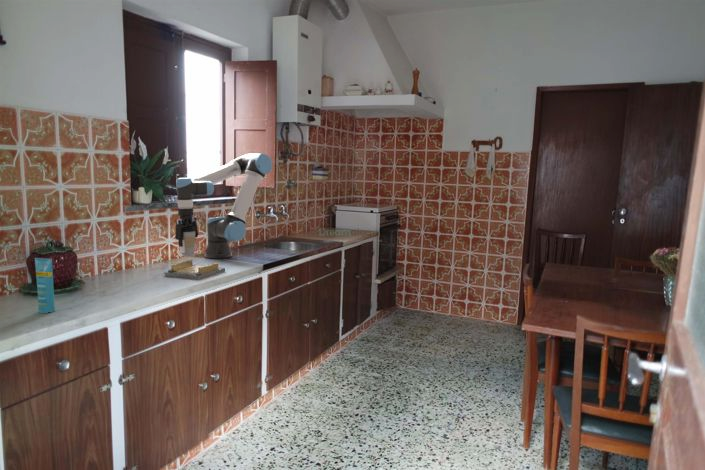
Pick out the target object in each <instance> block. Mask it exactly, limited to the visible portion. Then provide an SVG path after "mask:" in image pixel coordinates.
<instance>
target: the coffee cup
mask: <svg viewBox="0 0 705 470" xmlns="http://www.w3.org/2000/svg"><path fill="white" fill-rule="evenodd" d="M195 231H196V229H195V227H194V226H192V227H186V228H181V232H183V233H184V238H183V240H184V243H185V253H181V254H182V255H181V256H182V257H192V256H195V250H194V247H195V244H196V243H195Z"/></svg>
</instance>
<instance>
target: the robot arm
mask: <svg viewBox="0 0 705 470" xmlns="http://www.w3.org/2000/svg"><path fill="white" fill-rule="evenodd" d="M272 170H273V161H272V159H271V157H270V155H268V154H266V153H261V152H259V153H246V154H244V155H241V156H239V157H237V158H235V159H232V160H231V161H229V162H228V163H227V164H224V165H222V166H219V167H218V168H217V167H216V168H215V169H213V170H211V171H207V172H206V173H203V174H201V175H198V176H195V177H194V178H191V177H178V178H177V179H176V194H177V195H176V196H177V198H176V199H177V208H178V209H177V215H178V217H179V219H176V220H175V238H174V239H175V240H177V241H178V248H179V253H181V254H182V253H185V243H184V240H183V238H184V233H183V232H181V228H186V227H192V226H194V227H195V229H196V231H195V247H194V251H196V250H197V246H196V245H197V244H196V243H197V241H196V240H197V239H196V238H198V236H199V231H198V223H197V217H193V215H194V208H193V207H194V199H193V198H194V197H195V196H199V197H200V196H210V195H213V193H214V191H215V187H214V185H216V184H218V183H220V182H223V181H225V180H228V179H230V178H232V177H234V176H237V177H238V176H240V175H245V177H244V178H243V179H244V180H243V181H242V184H241V186H240V189H239V191H238V193H237V196H236V198H235V201H234V203H233V205H232V206H231V207H232V208H231V211H230V212H229V213H227V214H226V215H225V216H214V217H209V218H207V221H206V226H207V227H206V228H207V245H206V249H205V252H204V258H208V259H226V258H231V257H232V255H233V254H232V253H233V252H232V249H231V246H230V243H231V242H234V243H235V242H240V241H241V240H243V239H244V238H245V237H246V233H247V228H246V227H247V226H246V224H247V221H246V220H247V219H246V216H247V214H248V211H249V209H250V206H251V204H252V202H253V199H254V196H255V194H256V191H257V189H258V187H259V184H260V182H262V181H263V180H264V179H265V177H266V175H267V174H270V173H271V171H272ZM229 242H230V243H229Z"/></svg>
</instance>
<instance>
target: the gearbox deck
mask: <svg viewBox="0 0 705 470" xmlns="http://www.w3.org/2000/svg"><path fill="white" fill-rule="evenodd" d="M219 265H220V264H219V262H214V263H211V264H206V265H199V264H198V265H197V264H194V262H193V260H192V259H190V260H186V261H182V262H178V263H175V264H174V263H173V264H171V266H170V267H171V268H170V269H168V270H167V271H164V272H163V276H164V277H168V278H175V279H176V278H177V279H186V280H188V279H189V280H195V281H201V280H204V279H207V278H211V277H213V276H217V275H220V274H222V273H226V268H225V267H220V266H219Z"/></svg>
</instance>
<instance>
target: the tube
mask: <svg viewBox="0 0 705 470" xmlns="http://www.w3.org/2000/svg"><path fill="white" fill-rule="evenodd" d="M34 265H35V266H34V267H35V278H36V289H37V290H36V292H37V304H38V305H37V306H38V313H39V314H49V313H48V312H51V313H53V311H54V312H55V311H56V304H55V290H54V275H53V274H54V273H53V258H41V257H34Z"/></svg>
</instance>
